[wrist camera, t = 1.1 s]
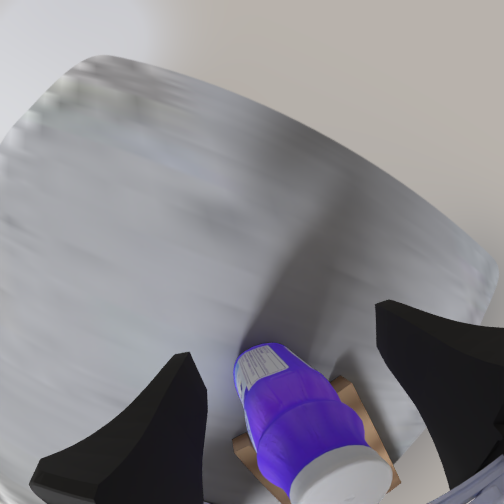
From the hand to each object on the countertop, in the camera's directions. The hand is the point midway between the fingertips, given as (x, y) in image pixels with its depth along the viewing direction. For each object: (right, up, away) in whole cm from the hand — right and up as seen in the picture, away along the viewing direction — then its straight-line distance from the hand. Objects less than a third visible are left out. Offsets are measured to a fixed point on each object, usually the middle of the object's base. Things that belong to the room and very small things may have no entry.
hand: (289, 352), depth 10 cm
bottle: (0, -8, +14) cm, 16 cm away
